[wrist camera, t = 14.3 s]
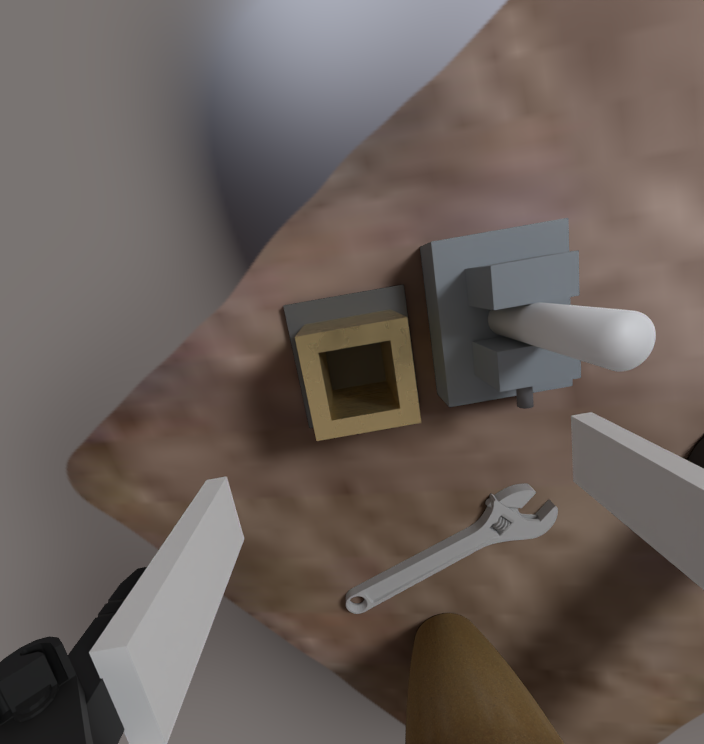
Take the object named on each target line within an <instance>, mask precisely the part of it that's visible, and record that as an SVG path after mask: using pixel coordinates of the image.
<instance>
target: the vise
mask: <svg viewBox="0 0 704 744" xmlns="http://www.w3.org/2000/svg"><path fill="white" fill-rule="evenodd" d="M420 252H421V261H422V269H423V277H424V286H425V294H426V303H427V311H428V319H429V328H430V336H431V345H432V353H433V361H434V370H435V378H436V387H437V394H438V395H439V396H440V397H441V398H442V400H443V401H444V402H445V403H446V404H447V405H448V406H449V407H454V406H460V405H465V404H471V403H477V402H483V401H488V400H494V399H500V398H505V397H511V396H517V407H519V408H531V407H533V393H534V392H540V391H545V390H551V389H557V388H562V387H568V386H572V379H577V378H581V361H584V362H587V363H590V364H594V365H597V366H600V367H603V368H606V369H609V370H613V371H627V370H631V369H633V368H635V367H637V366H638V365H640V364H641V363H642V362H644V361H645V360H646V358H647V357H648V356H649V355H650V353H651V351H652V349H653V347H654V344H655V338H656V333H655V328H654V325H653V323H652V321H651V320H650V319H649V318H648V317H647V316H646V315H645V314H643V313H641V312H638V311H631V310H620V309H609V308H598V307H586V306H575V305H570V297H572V296H578V295H579V250H578V251H571V252H569V227H568V218H564V219H559V220H553V221H547V222H542V223H536V224H530V225H524V226H519V227H513V228H507V229H502V230H496V231H490V232H485V233H479V234H473V235H467V236H462V237H456V238H450V239H445V240H439V241H433V242H430V243H427V244H425V245H423V246H421V247H420Z"/></svg>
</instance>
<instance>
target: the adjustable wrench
mask: <svg viewBox="0 0 704 744" xmlns="http://www.w3.org/2000/svg"><path fill="white" fill-rule="evenodd" d="M535 493H536V492H535V490H534V489H533V488H532V487H531V486H530V485H528V484H516V485H512V486H510V487H507V488H505V489H503V490H501V491H500V492H498V493H497V494H495V496H494V495H493V494H490V496H489V499H487V500H486V502H485V504H486V505H487V508H486V509H485V511H484V513H483V515H482V516H481V517H480V519H479V520H477V521H476V522H475V523H474V524H472V525H471V526H469V527H468V528H466V529H464V530H462V531H460V532H458V533H456V534H454V535H452V536H451V537H449V538H447V539H445V540H443V541H441V542H439V543H437V544H435V545H433V546H432V547H430V548H428V549H426V550H424V551H422V552H420V553H418V554H416V555H415V556H413V557H411V558H409V559H407V560H405V561H403V562H401V563H399V564H397V565H396V566H394V567H392V568H390V569H388V570H386V571H384V572H382V573H380V574H378V575H377V576H375V577H373V578H371V579H369V580H367V581H365V582H363V583H361V584H359V585H358V586H356V587H354V588H352V589H350V590H349V591H348V592H347V594H346V607H347V609H348V610H349V611H350V612H352V613H355V614H360V613H363V612H365V611H367V610H369V609H371V608H372V607H374V606H376V605H378V604H380V603H382V602H383V601H385V600H387V599H389V598H391V597H393V596H394V595H396V594H398V593H400V592H402V591H404V590H405V589H407V588H409V587H411V586H413V585H415V584H416V583H418V582H420V581H422V580H424V579H426V578H427V577H429V576H431V575H433V574H435V573H437V572H439V571H440V570H442V569H444V568H446V567H448V566H450V565H451V564H453V563H455V562H457V561H459V560H461V559H462V558H464V557H466V556H468V555H470V554H472V553H473V552H475V551H477V550H479V549H481V548H483V547H485V546H487V545H491V544H494V543H499V542H505V541H512V540H523V539H532V538H536V537H539V536H541V535H543V534H544V533H546V532H547V531H548V530H549V529H550V528H551V527H552V525H553V524H554V522H555V520H556V518H557V513H558V509H557V507H556V506H555V505H554V504H553V503H552V502H551V501H550V500H548V501H547V502H546V503H545V504H544V505H543V506H542V507H541V508H540V509H539V510H538V512H537V513H536V514H535V515H532V514H521V513H519V512H518V508H522V507H523V506H524V505H525V504H526V503H527V502H528V501H529V500H530V499H531V498H532V496H533V495H534V494H535ZM491 526H492V527H491ZM355 596H361V597H363V598H365V600H364V601H363V602H361V603H358V604H356V603H353V602H351V601H350V599H351V598H352V597H355Z"/></svg>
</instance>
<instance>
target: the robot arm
mask: <svg viewBox="0 0 704 744" xmlns="http://www.w3.org/2000/svg"><path fill="white" fill-rule="evenodd" d="M571 427H572V456H573V481H574V482H575V483H576V484H577V485H579V486H580V487H581V488H582V489H583V490H584V491H586V492H587V493H588V494H589V495H590V496H592V497H593V498H594V499H595V500H596V501H598V502H599V503H600V504H601V505H602V506H604V507H605V508H606V509H607V510H608V511H610V512H611V513H612V514H613V515H614V516H616V517H617V518H618V519H619V520H620V521H622V522H623V523H624V524H625V525H626V526H628V527H629V528H630V529H631V530H632V531H634V532H635V533H636V534H637V535H638V536H640V537H641V538H642V539H643V540H644V541H646V542H647V543H648V544H649V545H650V546H652V547H653V548H654V549H655V550H656V551H658V552H659V553H660V554H661V555H662V556H664V557H665V558H666V559H667V560H668V561H670V562H671V563H672V564H673V565H674V566H676V567H677V568H678V569H679V570H680V571H682V572H683V573H684V574H685V575H686V576H688V577H689V578H690V579H691V580H692V581H694V582H695V583H696V584H697V585H698V586H700V587H701V588H702V589H703V590H704V437H703V438H702V440H701V441H700V442H699V443H698V444H697V446H696V447H695V448H694V450H693V451H692V453H691V455H690V456H689V458H688V460H686V459H684V458H682V457H680V456H678V455H676V454H674V453H672V452H670V451H668V450H666V449H664V448H662V447H660V446H658V445H656V444H654V443H652V442H650V441H648V440H646V439H644V438H642V437H640V436H638V435H636V434H634V433H632V432H630V431H628V430H626V429H624V428H622V427H620V426H618V425H616V424H614V423H612V422H610V421H608V420H606V419H604V418H602V417H600V416H598V415H596V414H594V413H592V412H590V413H584V414H579V415H573V416H571ZM243 541H244V536H243V533H242V529H241V525H240V522H239V518H238V515H237V511H236V508H235V504H234V501H233V497H232V494H231V490H230V487H229V483H228V480H227V477H221V478H216V479H210V480H206V482H205V483H204V485H203V486H202V488H201V489H200V491H199V492H198V494H197V495H196V496H195V498H194V499H193V501H192V502H191V504H190V505H189V507H188V508H187V510H186V511H185V513H184V514H183V516H182V517H181V518H180V520H179V521H178V523H177V524H176V526H175V527H174V529H173V530H172V532H171V533H170V535H169V536H168V537H167V539H166V540H165V542H164V543H163V545H162V546H161V548H160V549H159V551H158V552H157V554H156V555H155V557H154V558H153V559H152V561H151V562H150V564H149V565H148V567H144V568H139V569H137V570H136V571H134V572H133V573H132V574H131V575H130V576H129V577H128V578H127V579H126V580H124V581H123V582H122V583H121V584H120V585H119V587H118V588H117V590H116V591H115V592H114V593H113V595H112V596H111V598H110V599H109V601H108V603H107V604H105V606H104V607H103V608H102V610H101V611H100V612H99V614H98V618H95V619H94V621H93V622H92V623H91V625H90V626H89V628H88V629H87V630H86V631H85V633H84V634H83V636H82V637H81V638H80V640H79V641H78V642H77V644H76V645H75V646H74V648H73V649H72V651H71V652H70V653H69V655H67V653H66V651H65V648H64V646H63V644H62V642H61V641H60V639H59V638H57V637H46V638H42V639H39V640H35V641H33V642H31V643H29V644H27V645H25V646H23V647H21V648H19V649H18V650H16V651H15V652H13V653H12V654H10V655H9V656H8V657H6V658H5V659H3V660H2V661H1V662H0V744H118V742H119V740H120V738H121V736H122V734H123V732H124V734H125V736H126V738H127V741H128V743H129V744H167V743H168V740H169V738H170V735H171V732H172V730H173V727H174V724H175V722H176V719H177V716H178V714H179V711H180V708H181V705H182V703H183V700H184V698H185V695H186V692H187V690H188V687H189V684H190V682H191V679H192V677H193V674H194V671H195V669H196V666H197V663H198V661H199V658H200V655H201V652H202V650H203V647H204V644H205V642H206V639H207V637H208V634H209V631H210V628H211V626H212V623H213V621H214V618H215V615H216V613H217V610H218V607H219V605H220V602H221V599H222V597H223V594H224V591H225V589H226V586H227V583H228V581H229V578H230V575H231V573H232V570H233V567H234V565H235V562H236V560H237V557H238V554H239V552H240V549H241V546H242V544H243Z"/></svg>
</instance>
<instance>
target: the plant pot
mask: <svg viewBox="0 0 704 744" xmlns="http://www.w3.org/2000/svg"><path fill="white" fill-rule="evenodd" d="M405 744H564V743H563V741H562V740H561V738H560V736H559V735H558V733H557V732H556V730H555V729H554V727H553V726H552V724H551V723H550V721H549V720H548V718H547V717H546V716H545V714H544V713H543V711H542V710H541V708H540V707H539V705H538V704H537V702H536V701H535V700H534V698H533V697H532V695H531V694H530V693H529V691H528V690H527V688H526V687H525V686H524V684H523V683H522V682H521V680H520V679H519V678H518V676H517V675H516V674H515V673H514V671H513V670H512V669H511V667H510V666H509V665H508V664H507V662H506V661H505V660H504V659H503V657H502V656H501V655H500V654H499V653H498V651H497V650H496V649H495V648H494V647H493V646H492V644H491V643H490V642H489V641H488V640H487V639H486V638H485V637H484V635H483V634H482V633H481V632H480V631H479V630H478V629H477V628H476V627H475V626H474V625H473V624H472V623H471V622H470V621H469V620H468V619H466V618H465V617H463V616H461V615H458V614H453V613H444V614H439V615H436V616H433V617H431V618H429V619H428V620H426V621H425V622H424V623H423V624H422V625H421V626H420V627H419V629H418V631H417V633H416V635H415V640H414V646H413V652H412V658H411V666H410V674H409V683H408V695H407V711H406V743H405Z"/></svg>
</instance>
